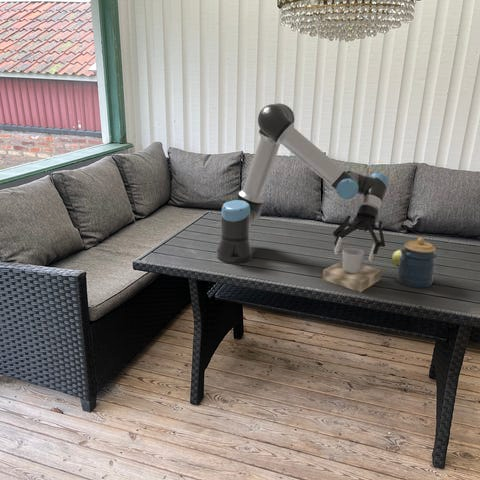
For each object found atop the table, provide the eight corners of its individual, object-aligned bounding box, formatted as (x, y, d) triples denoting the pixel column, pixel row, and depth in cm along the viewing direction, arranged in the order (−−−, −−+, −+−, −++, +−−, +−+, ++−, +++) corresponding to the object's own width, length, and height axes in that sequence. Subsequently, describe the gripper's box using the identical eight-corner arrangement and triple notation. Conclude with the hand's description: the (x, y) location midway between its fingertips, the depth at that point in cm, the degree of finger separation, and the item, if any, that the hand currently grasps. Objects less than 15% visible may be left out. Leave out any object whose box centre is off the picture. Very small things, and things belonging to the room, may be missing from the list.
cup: (349, 263, 179) (351, 244, 177) (368, 268, 174) (371, 249, 172) (336, 271, 171) (338, 251, 169) (356, 276, 166) (358, 256, 164)
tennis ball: (404, 252, 185) (411, 249, 190) (388, 250, 190) (396, 247, 195) (404, 267, 187) (411, 263, 192) (389, 265, 191) (396, 261, 196)
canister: (439, 286, 170) (447, 242, 165) (410, 290, 167) (417, 244, 161) (417, 273, 182) (424, 231, 176) (389, 276, 178) (395, 233, 173)
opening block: (322, 279, 173) (323, 269, 172) (343, 268, 185) (344, 259, 184) (360, 292, 163) (361, 282, 162) (380, 279, 175) (381, 270, 174)
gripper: (402, 219, 173) (386, 268, 166) (340, 209, 186) (323, 254, 178) (400, 209, 167) (384, 259, 160) (337, 199, 180) (319, 245, 172)
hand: (352, 257), depth 169 cm, fingers open, 12 cm apart
